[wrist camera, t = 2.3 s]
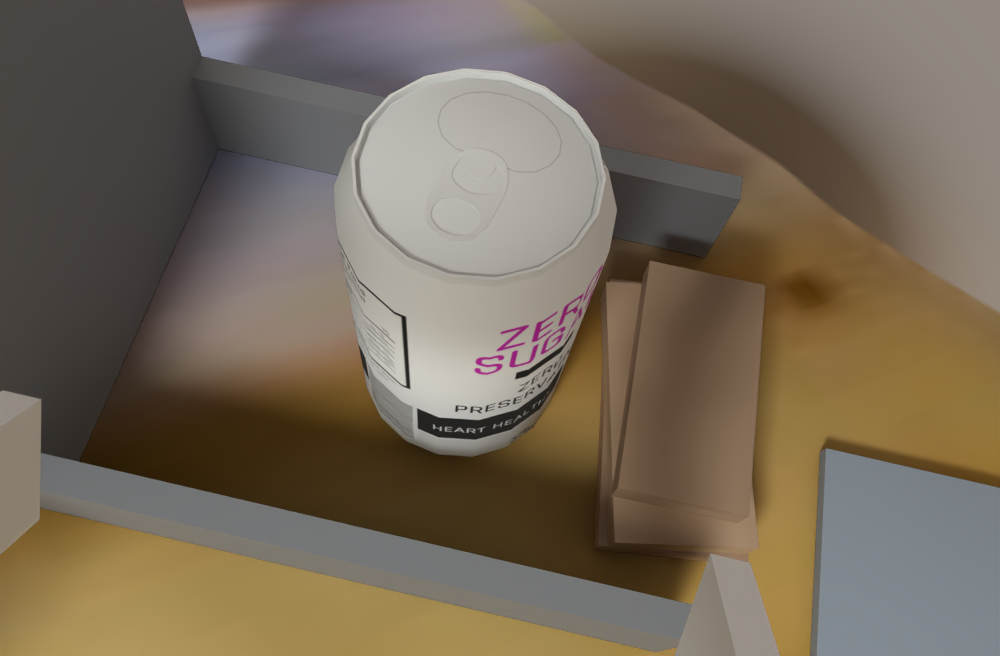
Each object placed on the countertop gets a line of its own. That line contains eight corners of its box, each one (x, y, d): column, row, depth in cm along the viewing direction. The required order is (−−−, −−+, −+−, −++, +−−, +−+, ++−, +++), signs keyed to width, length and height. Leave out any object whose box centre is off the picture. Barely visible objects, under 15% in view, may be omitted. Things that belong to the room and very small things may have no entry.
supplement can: (414, 261, 38) (405, 16, 25) (580, 328, 38) (665, 113, 24) (332, 414, 35) (271, 228, 21) (513, 491, 34) (567, 349, 21)
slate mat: (1093, 514, 36) (1103, 511, 35) (1123, 831, 31) (1136, 833, 30) (820, 452, 36) (826, 448, 35) (805, 756, 31) (812, 757, 30)
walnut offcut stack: (734, 306, 39) (764, 266, 36) (742, 569, 34) (778, 553, 30) (596, 290, 39) (612, 248, 35) (583, 552, 34) (600, 533, 30)
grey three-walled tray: (707, 236, 40) (936, -152, 22) (656, 652, 32) (951, 579, 14) (197, 122, 41) (10, -350, 23) (19, 502, 33) (-496, 244, 14)
